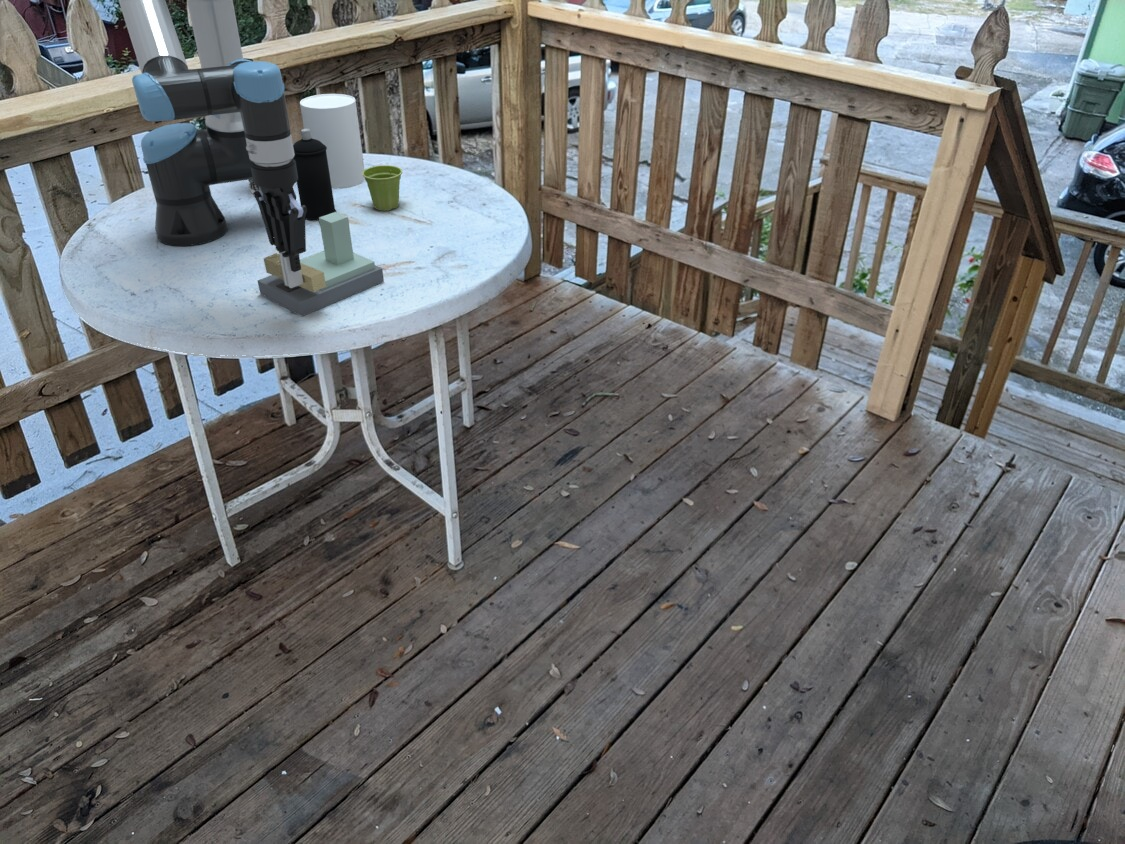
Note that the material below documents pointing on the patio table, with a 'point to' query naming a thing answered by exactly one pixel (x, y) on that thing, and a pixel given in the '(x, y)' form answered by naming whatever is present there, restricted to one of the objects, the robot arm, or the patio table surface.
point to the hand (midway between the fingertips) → (294, 284)
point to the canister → (336, 135)
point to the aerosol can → (313, 176)
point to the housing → (312, 301)
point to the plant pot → (383, 185)
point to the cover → (337, 252)
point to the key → (311, 276)
